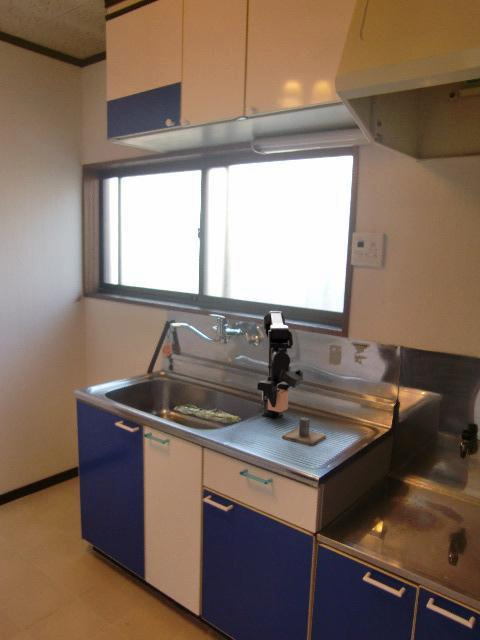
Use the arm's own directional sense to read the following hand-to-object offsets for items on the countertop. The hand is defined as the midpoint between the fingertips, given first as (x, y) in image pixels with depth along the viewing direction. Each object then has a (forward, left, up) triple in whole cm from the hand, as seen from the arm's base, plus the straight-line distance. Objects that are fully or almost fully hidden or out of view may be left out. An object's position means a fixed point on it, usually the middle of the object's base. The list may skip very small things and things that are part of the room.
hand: (277, 405), depth 179 cm
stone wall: (-35, +4, -12) cm, 38 cm away
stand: (+8, +5, -12) cm, 15 cm away
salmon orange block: (0, 0, -1) cm, 1 cm away
